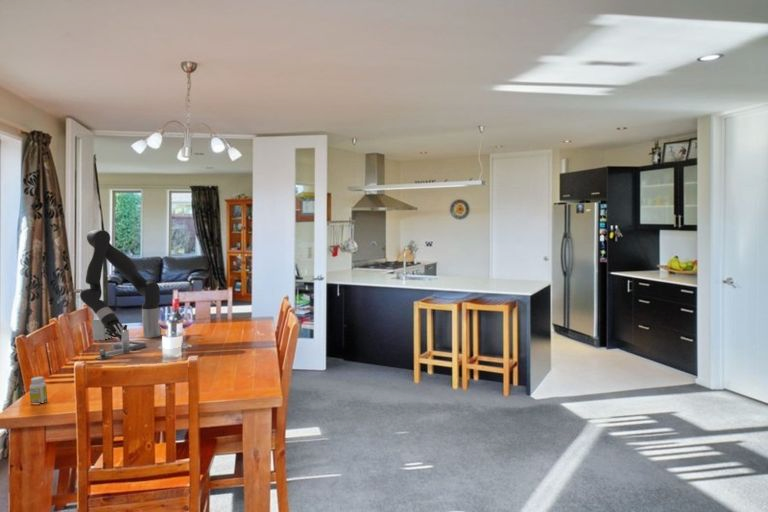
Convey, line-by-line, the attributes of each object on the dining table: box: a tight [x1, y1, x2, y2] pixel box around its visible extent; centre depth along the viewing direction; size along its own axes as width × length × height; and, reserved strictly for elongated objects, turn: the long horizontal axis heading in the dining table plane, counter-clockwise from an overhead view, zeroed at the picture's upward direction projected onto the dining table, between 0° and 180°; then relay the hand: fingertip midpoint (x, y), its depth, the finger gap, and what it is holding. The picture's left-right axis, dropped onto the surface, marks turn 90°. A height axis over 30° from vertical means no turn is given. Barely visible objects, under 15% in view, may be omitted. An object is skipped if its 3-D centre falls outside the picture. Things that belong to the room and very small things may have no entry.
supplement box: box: [92, 317, 113, 342], centre depth 303 cm, size 7×7×13 cm
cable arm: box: [99, 329, 131, 357], centre depth 265 cm, size 14×4×11 cm, turn 142°
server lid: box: [113, 340, 147, 351], centre depth 281 cm, size 9×14×2 cm, turn 65°
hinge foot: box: [96, 355, 113, 361], centre depth 260 cm, size 6×6×1 cm
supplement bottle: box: [29, 376, 48, 404], centre depth 195 cm, size 5×5×10 cm
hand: (125, 341), depth 271 cm, fingers closed
